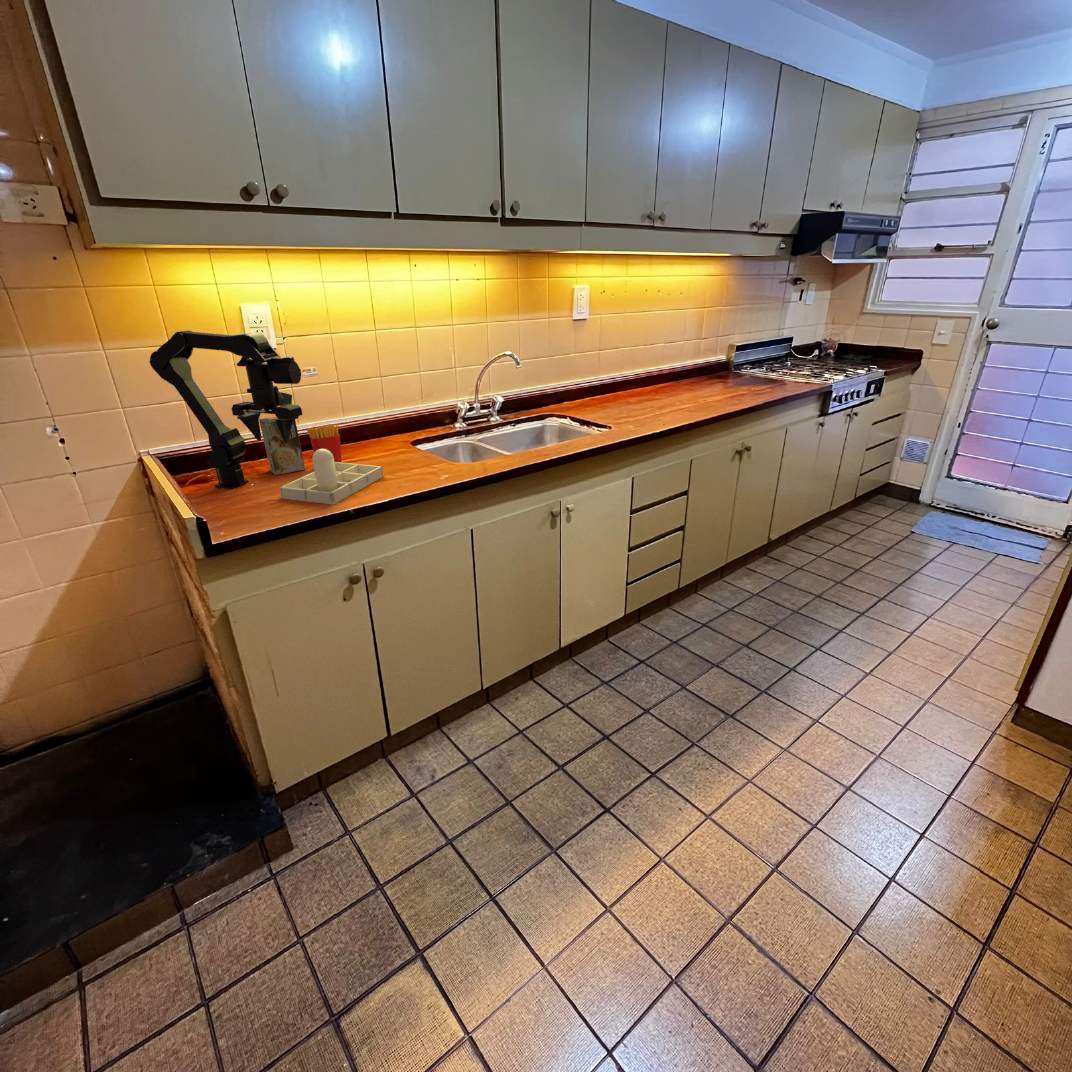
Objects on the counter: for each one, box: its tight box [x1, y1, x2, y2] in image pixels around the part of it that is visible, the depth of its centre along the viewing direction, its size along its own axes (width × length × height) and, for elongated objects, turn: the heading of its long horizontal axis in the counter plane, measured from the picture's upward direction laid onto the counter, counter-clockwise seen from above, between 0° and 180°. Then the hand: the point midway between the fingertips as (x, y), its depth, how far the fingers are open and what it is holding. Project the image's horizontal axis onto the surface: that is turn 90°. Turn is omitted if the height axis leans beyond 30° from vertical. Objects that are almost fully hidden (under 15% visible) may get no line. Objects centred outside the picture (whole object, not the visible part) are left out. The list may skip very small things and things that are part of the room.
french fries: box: [306, 424, 343, 463], centre depth 175 cm, size 9×4×13 cm, turn 121°
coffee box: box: [259, 416, 306, 476], centre depth 171 cm, size 9×6×16 cm
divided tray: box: [278, 461, 384, 506], centre depth 159 cm, size 16×24×3 cm
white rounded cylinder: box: [312, 449, 338, 492], centre depth 149 cm, size 5×5×13 cm
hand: (273, 441), depth 156 cm, fingers open, 9 cm apart
